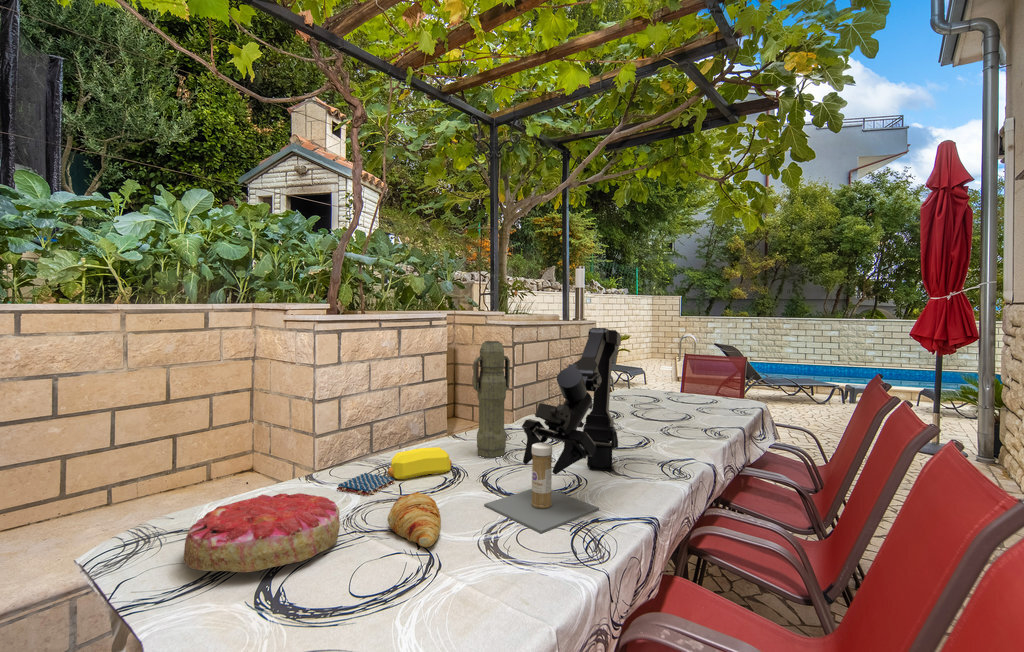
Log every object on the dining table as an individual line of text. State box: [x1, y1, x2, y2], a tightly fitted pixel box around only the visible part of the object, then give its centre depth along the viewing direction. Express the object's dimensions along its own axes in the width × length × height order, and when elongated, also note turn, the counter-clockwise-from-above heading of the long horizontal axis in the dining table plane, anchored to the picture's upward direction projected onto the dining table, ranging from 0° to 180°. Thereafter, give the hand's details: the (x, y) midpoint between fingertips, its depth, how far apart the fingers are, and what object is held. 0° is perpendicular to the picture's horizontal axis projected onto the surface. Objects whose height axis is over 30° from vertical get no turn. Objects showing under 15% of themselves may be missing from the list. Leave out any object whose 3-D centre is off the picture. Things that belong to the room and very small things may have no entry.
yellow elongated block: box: [387, 446, 453, 480], centre depth 128 cm, size 18×7×8 cm
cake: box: [183, 492, 341, 573], centre depth 86 cm, size 25×25×8 cm
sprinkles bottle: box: [531, 442, 553, 509], centre depth 105 cm, size 5×5×14 cm
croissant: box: [386, 491, 442, 548], centre depth 94 cm, size 21×10×8 cm, turn 27°
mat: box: [483, 488, 600, 534], centre depth 105 cm, size 18×18×1 cm
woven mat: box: [336, 472, 396, 497], centre depth 118 cm, size 10×11×2 cm
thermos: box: [473, 340, 511, 459], centre depth 146 cm, size 9×12×35 cm
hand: (538, 468), depth 104 cm, fingers open, 9 cm apart
